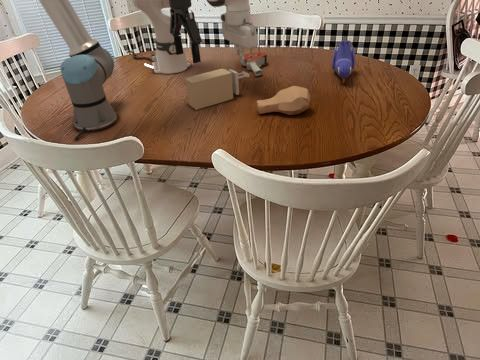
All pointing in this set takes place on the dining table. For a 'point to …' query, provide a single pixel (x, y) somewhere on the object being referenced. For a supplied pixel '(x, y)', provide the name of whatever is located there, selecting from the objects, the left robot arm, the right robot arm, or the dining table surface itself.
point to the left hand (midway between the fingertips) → (188, 58)
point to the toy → (343, 59)
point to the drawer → (235, 80)
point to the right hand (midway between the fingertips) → (240, 55)
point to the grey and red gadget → (254, 62)
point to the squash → (286, 101)
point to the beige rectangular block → (209, 88)
